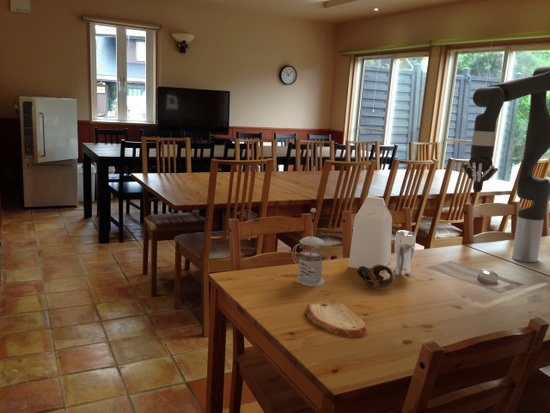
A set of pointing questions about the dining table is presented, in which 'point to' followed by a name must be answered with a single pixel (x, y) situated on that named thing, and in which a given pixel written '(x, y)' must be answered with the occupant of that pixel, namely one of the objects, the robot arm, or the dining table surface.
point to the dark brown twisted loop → (375, 276)
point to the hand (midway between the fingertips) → (477, 191)
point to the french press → (310, 261)
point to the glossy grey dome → (487, 276)
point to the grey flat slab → (471, 275)
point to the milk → (371, 235)
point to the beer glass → (404, 252)
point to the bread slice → (336, 318)
